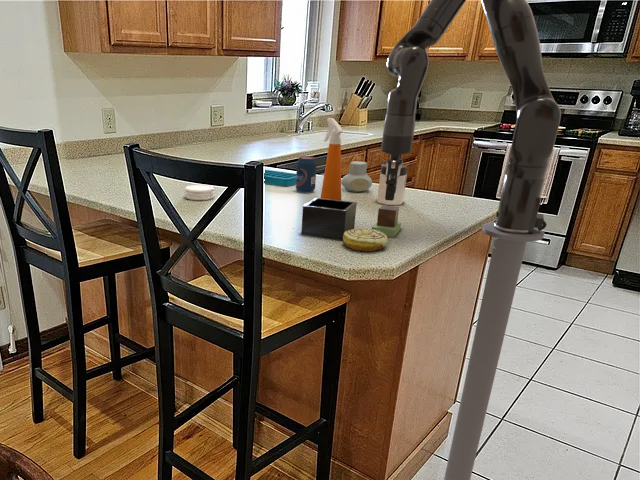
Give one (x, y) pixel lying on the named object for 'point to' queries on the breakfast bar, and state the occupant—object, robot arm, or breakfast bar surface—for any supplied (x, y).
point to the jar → (399, 187)
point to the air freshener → (357, 177)
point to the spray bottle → (332, 163)
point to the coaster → (199, 192)
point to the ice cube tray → (279, 178)
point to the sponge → (388, 229)
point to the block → (387, 216)
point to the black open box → (328, 218)
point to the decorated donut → (365, 239)
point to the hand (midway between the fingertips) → (390, 196)
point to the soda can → (306, 174)
